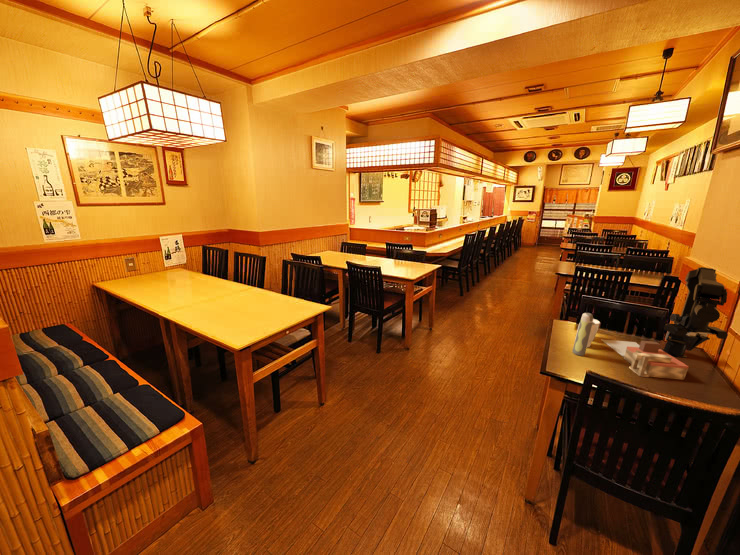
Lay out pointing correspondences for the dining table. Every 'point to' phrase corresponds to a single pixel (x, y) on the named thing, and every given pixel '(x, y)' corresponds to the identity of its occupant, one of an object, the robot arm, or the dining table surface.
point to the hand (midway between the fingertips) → (688, 350)
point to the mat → (620, 345)
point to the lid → (654, 349)
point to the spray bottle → (583, 334)
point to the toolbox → (653, 368)
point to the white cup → (595, 327)
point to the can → (590, 334)
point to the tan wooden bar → (652, 357)
